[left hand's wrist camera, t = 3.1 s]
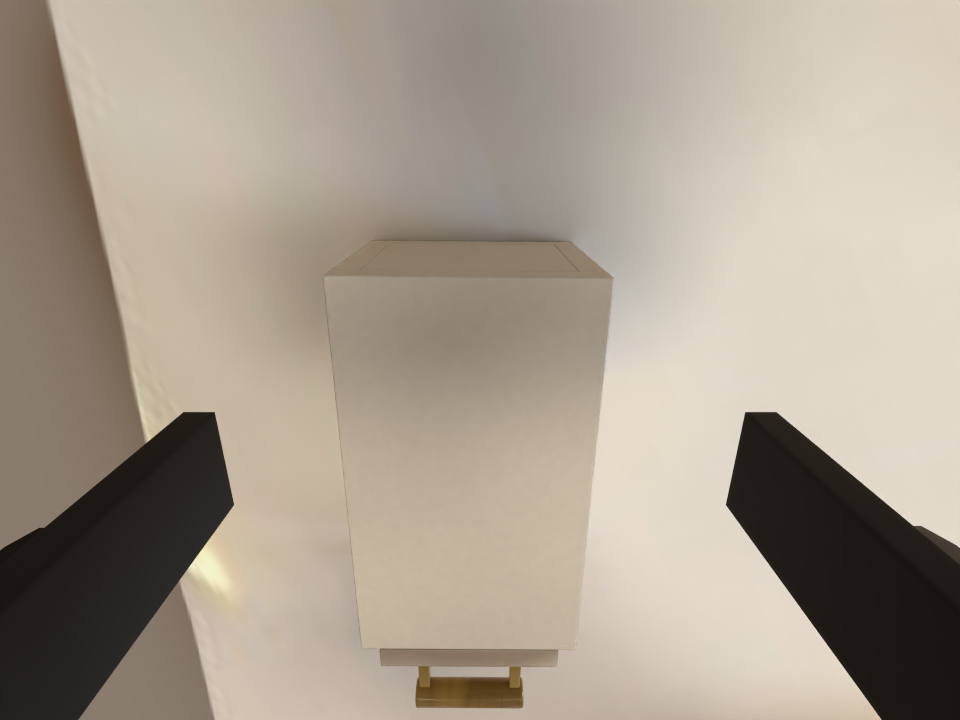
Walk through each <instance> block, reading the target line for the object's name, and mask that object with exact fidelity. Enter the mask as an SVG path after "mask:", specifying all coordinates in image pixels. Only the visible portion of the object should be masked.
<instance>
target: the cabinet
mask: <svg viewBox="0 0 960 720" xmlns="http://www.w3.org/2000/svg"><path fill="white" fill-rule="evenodd" d="M323 283H324V292H325V302H326V311H327V321H328V331H329V340H330V350H331V359H332V369H333V378H334V388H335V398H336V407H337V417H338V426H339V436H340V446H341V455H342V465H343V474H344V484H345V493H346V503H347V513H348V522H349V532H350V541H351V551H352V561H353V570H354V580H355V589H356V599H357V609H358V618H359V628H360V637H361V647H362V648H380V649H531V650H575V648H576V639H577V630H578V620H579V611H580V601H581V591H582V582H583V572H584V563H585V553H586V544H587V534H588V525H589V515H590V506H591V496H592V487H593V477H594V468H595V458H596V448H597V439H598V429H599V420H600V410H601V401H602V391H603V382H604V372H605V363H606V353H607V344H608V334H609V324H610V315H611V305H612V296H613V286H614V278H613V277H612V276H611V275H610V274H609V273H607V272H606V271H605V270H604V269H602V268H601V267H600V266H599V265H598V264H597V263H595V262H594V261H593V260H592V259H591V258H590V257H588V256H587V255H586V254H585V253H584V252H582V251H581V250H580V249H579V248H578V247H577V246H575V245H574V244H573V243H572V242H509V241H392V240H373V241H372V242H370V243H369V244H367V245H366V246H364V247H363V248H361V249H360V250H359V251H357V252H356V253H354V254H353V255H351V256H350V257H349V258H347V259H346V260H344V261H343V262H342V263H340V264H339V265H337V266H336V267H334V268H333V269H332V270H330V271H329V272H328V273H326V274H325V275H323Z"/></svg>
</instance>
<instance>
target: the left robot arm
mask: <svg viewBox="0 0 960 720" xmlns="http://www.w3.org/2000/svg"><path fill="white" fill-rule="evenodd" d="M233 506H234V502H233V498H232V493H231V488H230V483H229V479H228V474H227V469H226V464H225V460H224V455H223V450H222V445H221V440H220V436H219V431H218V426H217V421H216V417H215V412H183V413H182V414H181V415H180V416H179V417H177V418H176V419H175V420H174V421H173V422H171V423H170V424H169V425H168V426H167V427H165V428H164V429H163V430H162V431H160V432H159V433H158V434H157V435H156V436H154V437H153V438H152V439H151V440H150V441H148V442H147V443H146V444H145V445H144V446H143V447H141V448H140V449H139V450H138V451H136V452H135V453H134V454H133V455H132V456H130V457H129V458H128V459H127V460H126V461H124V462H123V463H122V464H121V465H120V466H118V467H117V468H116V469H115V470H114V471H112V472H111V473H110V474H109V475H108V476H106V477H105V478H104V479H103V480H102V481H100V482H99V483H98V484H97V485H96V486H94V487H93V488H92V489H91V490H90V491H88V492H87V493H86V494H85V495H84V496H82V497H81V498H80V499H79V500H78V501H76V502H75V503H74V504H73V505H71V506H70V507H69V508H68V509H67V510H65V511H64V512H63V513H62V514H61V515H59V516H58V517H57V518H56V519H55V520H53V521H52V522H51V523H50V524H49V525H47V526H46V527H45V528H38V529H37V530H35V531H33V532H31V533H29V534H27V535H26V536H24V537H22V538H20V539H18V540H17V541H15V542H13V543H11V544H9V545H8V546H6V547H4V548H3V549H2V550H0V720H78V719H79V718H80V716H81V715H82V714H83V712H84V711H85V710H86V708H87V707H88V705H89V704H90V703H91V701H92V700H93V699H94V697H95V696H96V694H97V693H98V692H99V690H100V689H101V688H102V686H103V685H104V683H105V682H106V681H107V679H108V678H109V677H110V675H111V674H112V672H113V671H114V670H115V668H116V667H117V666H118V664H119V663H120V661H121V660H122V659H123V657H124V656H125V654H126V653H127V652H128V650H129V649H130V648H131V646H132V645H133V643H134V642H135V641H136V639H137V638H138V637H139V635H140V634H141V632H142V631H143V630H144V628H145V627H146V625H147V624H148V623H149V621H150V620H151V619H152V617H153V616H154V615H155V613H156V612H157V610H158V609H159V608H160V606H161V605H162V603H163V602H164V601H165V599H166V598H167V597H168V595H169V594H170V592H171V591H172V590H173V588H174V587H175V586H176V584H177V583H178V581H179V580H180V579H181V577H182V576H183V575H184V573H185V572H186V570H187V569H188V568H189V566H190V565H191V564H192V562H193V561H194V559H195V558H196V557H197V555H198V554H199V553H200V551H201V550H202V548H203V547H204V546H205V544H206V543H207V541H208V540H209V539H210V537H211V536H212V535H213V533H214V532H215V530H216V529H217V528H218V526H219V525H220V524H221V522H222V521H223V519H224V518H225V517H226V515H227V514H228V513H229V511H230V510H231V508H232V507H233ZM726 506H727V507H728V508H729V510H730V511H731V513H732V514H733V515H734V517H735V518H736V519H737V521H738V522H739V524H740V525H741V526H742V528H743V529H744V530H745V532H746V533H747V535H748V536H749V537H750V539H751V540H752V541H753V543H754V544H755V546H756V547H757V548H758V550H759V551H760V553H761V554H762V555H763V557H764V558H765V559H766V561H767V562H768V564H769V565H770V566H771V568H772V569H773V570H774V572H775V573H776V575H777V576H778V577H779V579H780V580H781V581H782V583H783V584H784V586H785V587H786V588H787V590H788V591H789V592H790V594H791V595H792V597H793V598H794V599H795V601H796V602H797V604H798V605H799V606H800V608H801V609H802V610H803V612H804V613H805V615H806V616H807V617H808V619H809V620H810V621H811V623H812V624H813V626H814V627H815V628H816V630H817V631H818V632H819V634H820V635H821V637H822V638H823V639H824V641H825V642H826V643H827V645H828V646H829V648H830V649H831V650H832V652H833V653H834V654H835V656H836V657H837V659H838V660H839V661H840V663H841V664H842V666H843V667H844V668H845V670H846V671H847V672H848V674H849V675H850V677H851V678H852V679H853V681H854V682H855V683H856V685H857V686H858V688H859V689H860V690H861V692H862V693H863V694H864V696H865V697H866V699H867V700H868V701H869V703H870V704H871V705H872V707H873V708H874V710H875V711H876V712H877V714H878V715H879V717H880V718H881V719H882V720H960V548H959V547H958V546H956V545H955V544H953V543H951V542H949V541H947V540H946V539H944V538H942V537H940V536H938V535H937V534H935V533H933V532H931V531H929V530H927V529H926V528H924V527H922V526H913V525H911V524H910V523H909V522H908V521H907V520H905V519H904V518H903V517H902V516H901V515H899V514H898V513H897V512H896V511H895V510H893V509H892V508H891V507H890V506H889V505H887V504H886V503H885V502H884V501H883V500H881V499H880V498H879V497H878V496H876V495H875V494H874V493H873V492H872V491H870V490H869V489H868V488H867V487H866V486H864V485H863V484H862V483H861V482H860V481H858V480H857V479H856V478H855V477H854V476H852V475H851V474H850V473H849V472H848V471H846V470H845V469H844V468H843V467H842V466H840V465H839V464H838V463H837V462H836V461H834V460H833V459H832V458H831V457H830V456H828V455H827V454H826V453H825V452H824V451H822V450H821V449H820V448H819V447H818V446H816V445H815V444H814V443H813V442H812V441H810V440H809V439H808V438H807V437H806V436H804V435H803V434H802V433H801V432H800V431H798V430H797V429H796V428H795V427H793V426H792V425H791V424H790V423H789V422H787V421H786V420H785V419H784V418H783V417H781V416H780V415H779V414H778V413H777V412H745V417H744V421H743V426H742V431H741V436H740V440H739V445H738V450H737V455H736V460H735V464H734V469H733V474H732V479H731V483H730V488H729V493H728V498H727V502H726Z"/></svg>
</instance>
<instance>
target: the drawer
mask: <svg viewBox="0 0 960 720" xmlns="http://www.w3.org/2000/svg"><path fill="white" fill-rule="evenodd" d="M380 658H381V666H419V677H418V679H417V685H416V707H417V708H522V707H523V683H522V678H520V669H521V667H557V659H558V650H531V649H380ZM430 666H489V667H509V677H431V676H430Z"/></svg>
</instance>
